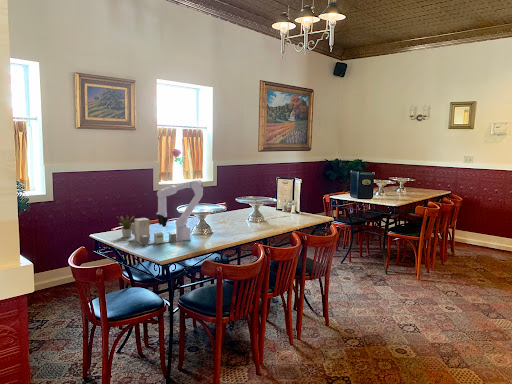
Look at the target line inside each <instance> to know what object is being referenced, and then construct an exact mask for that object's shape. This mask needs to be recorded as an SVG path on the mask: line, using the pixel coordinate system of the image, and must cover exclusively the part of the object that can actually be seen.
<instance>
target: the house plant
mask: <svg viewBox="0 0 512 384" xmlns="http://www.w3.org/2000/svg"><path fill="white" fill-rule="evenodd" d="M134 217H135V215H133V216H132V217H131V218H130V219H129V217H128V214H126V217H123V215H121V216H120V218H119V216H117V218H119V221H120V222H119V223H118V225H120V226H121V233H122V234H121V235H122V237H123V238H124V237H128V238H130V237H131V236H132V223H134V221H132V220H134Z"/></svg>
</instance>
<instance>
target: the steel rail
mask: <svg viewBox="0 0 512 384" xmlns="http://www.w3.org/2000/svg"><path fill="white" fill-rule="evenodd" d="M172 243H178V241H177V240H176V241H174V242H171V241H169V239H168V240H163V243H155V242H154V241H148V244H145V245H143V244H142V243H141V242H139V245H140V246H142V247H143V246H144V247H145V246H151V245H152V246H153V245H155V246H156V245H162V244H172Z"/></svg>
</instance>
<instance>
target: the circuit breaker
mask: <svg viewBox="0 0 512 384" xmlns="http://www.w3.org/2000/svg"><path fill="white" fill-rule="evenodd" d="M150 221H151V220H150V219H149V218H146V217H140V218H133V223H132V225H131V228H132V231H131V235H134V241H136V242H137V243H141V236H142V235H147V236H148V242H151V240H150V239H151V234H150V226H151V222H150Z"/></svg>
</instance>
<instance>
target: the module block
mask: <svg viewBox="0 0 512 384" xmlns="http://www.w3.org/2000/svg"><path fill="white" fill-rule="evenodd" d="M163 241H164V233H163V232H160V231H159V232H154V233H153V242H155V243H163Z"/></svg>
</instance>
